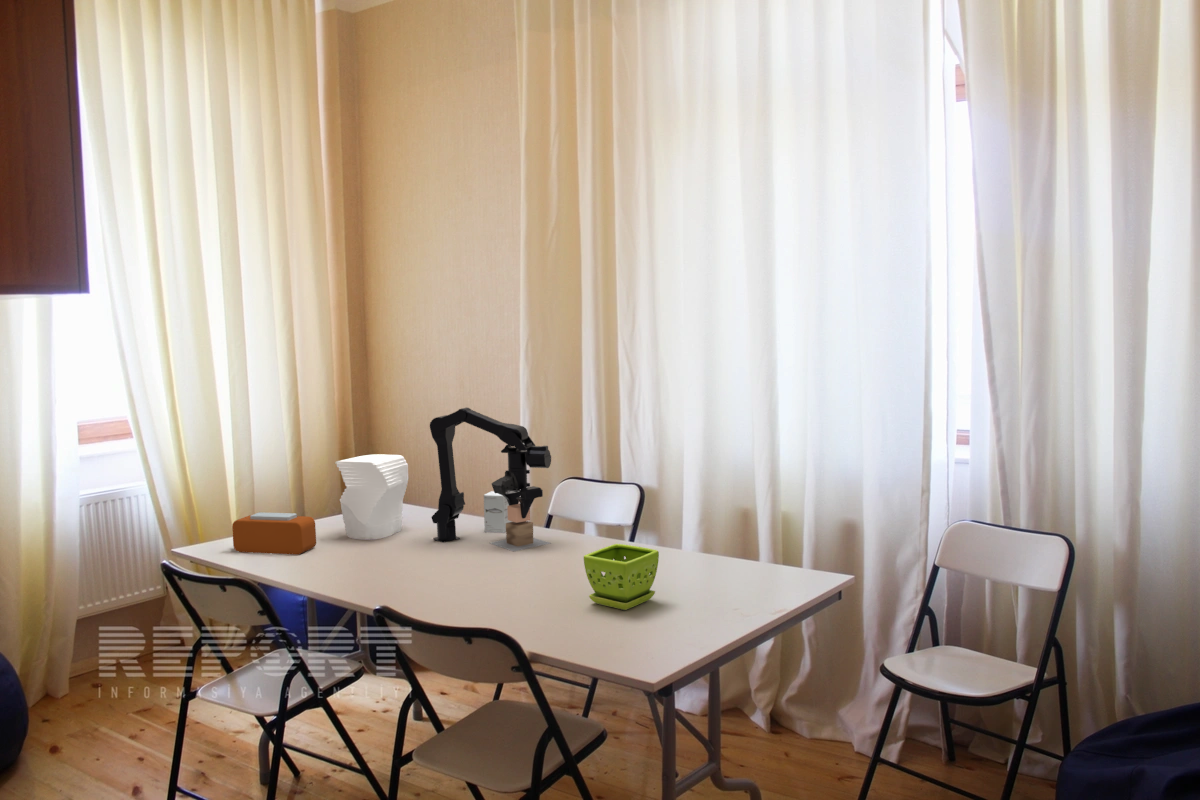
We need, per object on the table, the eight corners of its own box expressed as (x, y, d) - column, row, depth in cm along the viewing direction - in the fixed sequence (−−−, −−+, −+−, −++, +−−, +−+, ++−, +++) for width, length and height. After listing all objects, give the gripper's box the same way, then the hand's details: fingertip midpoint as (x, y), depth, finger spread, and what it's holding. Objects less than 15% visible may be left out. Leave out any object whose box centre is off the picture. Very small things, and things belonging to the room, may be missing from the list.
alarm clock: (317, 548, 290) (315, 512, 289) (302, 555, 282) (300, 518, 281) (249, 545, 296) (247, 510, 295) (233, 552, 288) (231, 516, 287)
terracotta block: (507, 520, 289) (507, 505, 288) (521, 517, 292) (520, 503, 291) (516, 522, 285) (516, 508, 284) (530, 520, 288) (529, 505, 287)
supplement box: (483, 532, 305) (482, 494, 304) (493, 527, 312) (491, 490, 311) (504, 533, 303) (503, 495, 302) (513, 528, 310) (512, 491, 309)
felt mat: (488, 543, 290) (488, 542, 290) (525, 536, 299) (525, 535, 299) (513, 552, 279) (513, 551, 279) (551, 544, 288) (551, 543, 288)
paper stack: (329, 538, 302) (325, 460, 299) (388, 521, 325) (385, 449, 322) (376, 546, 291) (372, 465, 288) (434, 527, 314) (431, 452, 311)
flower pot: (617, 590, 239) (616, 542, 238) (662, 600, 230) (661, 550, 229) (582, 604, 228) (581, 554, 227) (627, 615, 219) (626, 562, 218)
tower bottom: (506, 543, 289) (506, 532, 289) (522, 539, 293) (522, 529, 293) (517, 546, 285) (516, 536, 284) (533, 543, 289) (533, 533, 288)
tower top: (505, 533, 289) (505, 523, 288) (520, 529, 293) (520, 519, 293) (518, 536, 284) (518, 526, 284) (533, 532, 289) (533, 522, 288)
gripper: (479, 466, 289) (480, 516, 290) (512, 474, 274) (513, 526, 276) (509, 462, 296) (510, 510, 297) (543, 469, 281) (544, 520, 283)
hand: (518, 516), depth 288 cm, fingers closed on terracotta block, 5 cm apart
